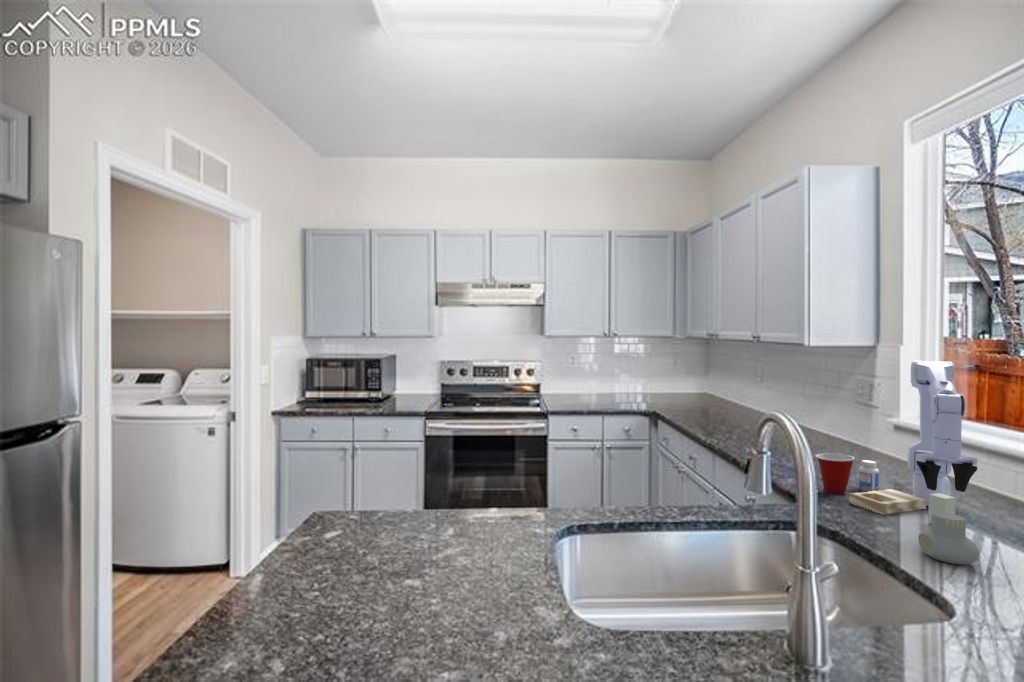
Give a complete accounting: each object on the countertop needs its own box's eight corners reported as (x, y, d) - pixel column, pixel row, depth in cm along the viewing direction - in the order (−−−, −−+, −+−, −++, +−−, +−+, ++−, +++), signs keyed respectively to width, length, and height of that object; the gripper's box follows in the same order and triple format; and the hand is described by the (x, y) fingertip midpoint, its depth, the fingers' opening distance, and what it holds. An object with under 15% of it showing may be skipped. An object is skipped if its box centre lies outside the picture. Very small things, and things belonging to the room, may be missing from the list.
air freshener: (984, 573, 107) (985, 527, 107) (938, 567, 109) (939, 522, 109) (955, 552, 117) (957, 510, 117) (914, 547, 120) (915, 506, 120)
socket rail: (891, 498, 157) (891, 489, 157) (926, 509, 147) (926, 499, 147) (849, 503, 151) (849, 493, 151) (882, 514, 142) (883, 504, 142)
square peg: (938, 521, 137) (938, 493, 137) (954, 527, 133) (955, 497, 133) (928, 523, 136) (929, 494, 136) (944, 528, 132) (945, 498, 132)
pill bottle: (872, 488, 167) (873, 459, 167) (882, 493, 162) (883, 463, 162) (854, 487, 168) (855, 459, 168) (864, 492, 162) (865, 463, 162)
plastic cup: (815, 484, 170) (816, 449, 170) (854, 491, 164) (855, 455, 164) (813, 492, 161) (814, 455, 161) (853, 499, 155) (854, 461, 155)
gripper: (932, 439, 128) (931, 492, 128) (988, 443, 128) (987, 495, 127) (910, 435, 135) (909, 485, 135) (963, 438, 135) (962, 488, 134)
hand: (945, 490), depth 131 cm, fingers open, 7 cm apart
